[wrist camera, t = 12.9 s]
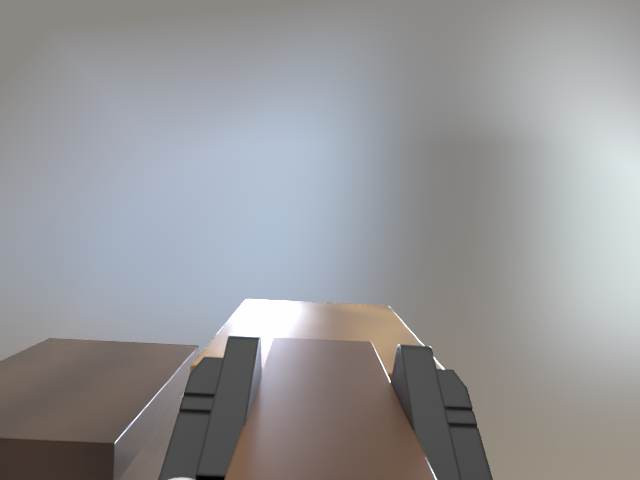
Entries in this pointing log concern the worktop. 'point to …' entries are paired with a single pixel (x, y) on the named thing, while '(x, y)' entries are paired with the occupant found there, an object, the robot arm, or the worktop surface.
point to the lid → (323, 394)
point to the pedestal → (90, 409)
